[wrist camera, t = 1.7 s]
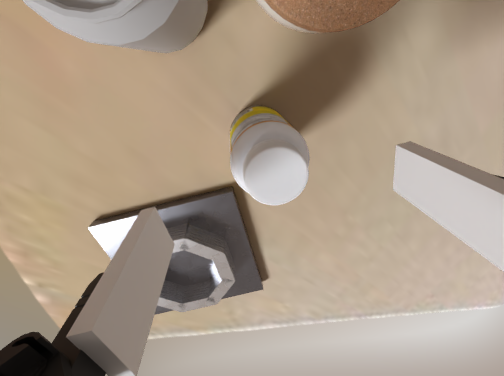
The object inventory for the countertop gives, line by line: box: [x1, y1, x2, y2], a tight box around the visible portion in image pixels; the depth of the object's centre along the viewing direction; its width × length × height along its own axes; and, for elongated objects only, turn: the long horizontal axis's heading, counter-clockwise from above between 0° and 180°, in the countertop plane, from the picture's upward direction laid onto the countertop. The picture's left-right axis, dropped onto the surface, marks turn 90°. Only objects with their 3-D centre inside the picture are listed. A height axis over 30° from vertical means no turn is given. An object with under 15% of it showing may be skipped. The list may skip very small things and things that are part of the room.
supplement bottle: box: [230, 106, 309, 205], centre depth 18 cm, size 6×6×10 cm
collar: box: [88, 187, 263, 315], centre depth 28 cm, size 16×16×4 cm
